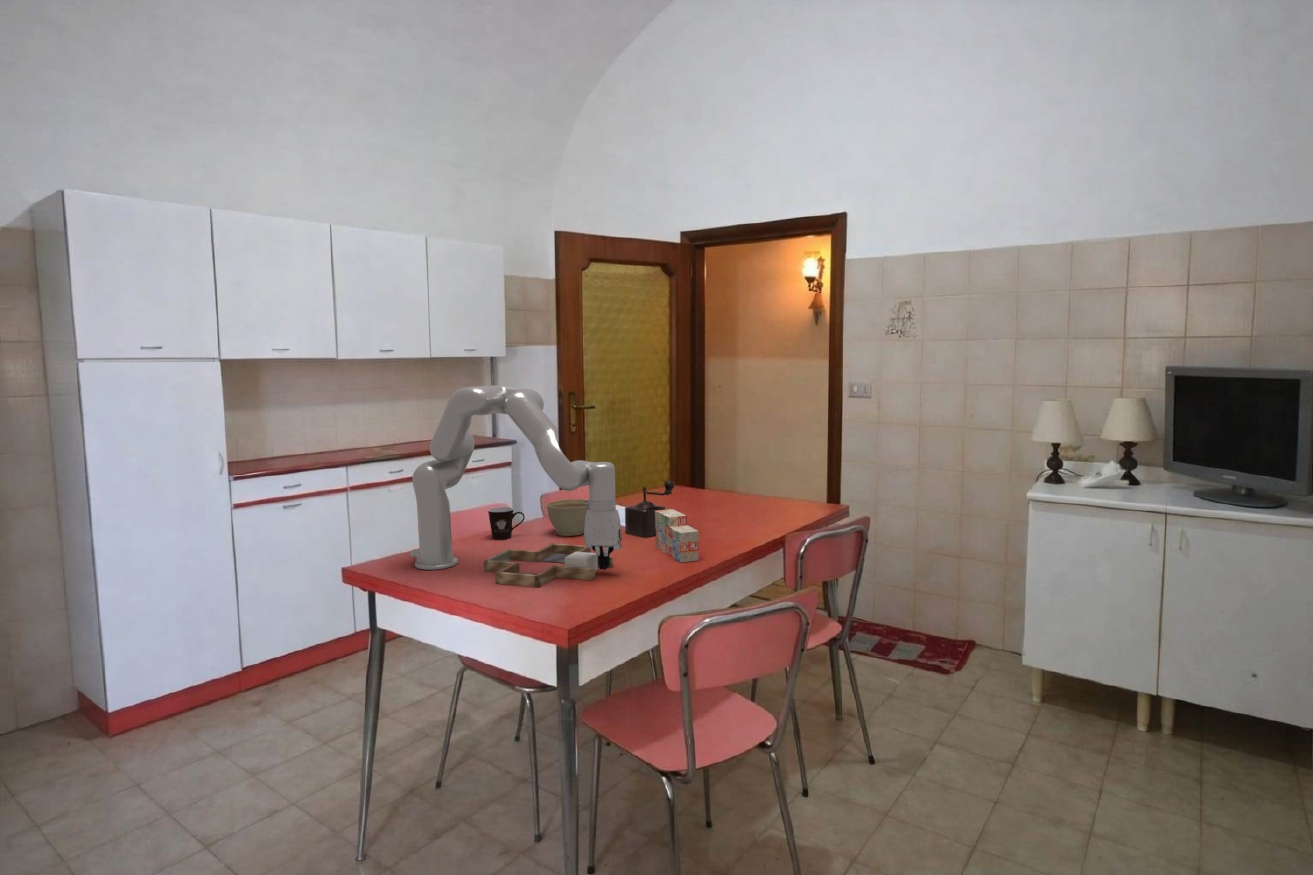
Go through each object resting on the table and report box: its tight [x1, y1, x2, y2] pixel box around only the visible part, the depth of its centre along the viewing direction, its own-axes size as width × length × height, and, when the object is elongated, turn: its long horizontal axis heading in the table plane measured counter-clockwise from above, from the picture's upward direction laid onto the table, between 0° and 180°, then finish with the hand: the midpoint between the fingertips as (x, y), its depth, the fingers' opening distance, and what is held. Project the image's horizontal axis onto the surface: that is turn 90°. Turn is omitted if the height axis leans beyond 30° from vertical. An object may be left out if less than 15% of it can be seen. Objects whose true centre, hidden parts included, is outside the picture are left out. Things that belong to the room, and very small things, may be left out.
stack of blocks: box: [655, 508, 700, 563], centre depth 243 cm, size 21×6×12 cm, turn 20°
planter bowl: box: [546, 498, 589, 537], centre depth 273 cm, size 16×16×11 cm
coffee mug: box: [487, 506, 526, 541], centre depth 268 cm, size 12×9×10 cm
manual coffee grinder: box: [624, 480, 676, 539], centre depth 272 cm, size 16×11×18 cm
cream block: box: [564, 552, 598, 572], centre depth 225 cm, size 7×7×5 cm
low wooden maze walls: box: [483, 543, 614, 588], centre depth 228 cm, size 35×34×3 cm
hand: (604, 568), depth 223 cm, fingers closed
